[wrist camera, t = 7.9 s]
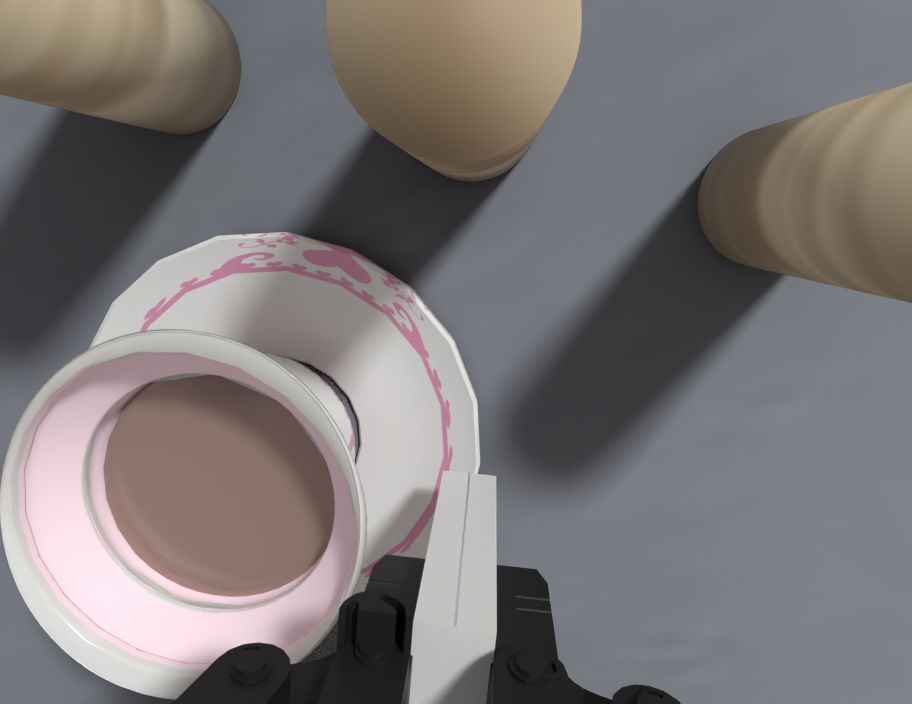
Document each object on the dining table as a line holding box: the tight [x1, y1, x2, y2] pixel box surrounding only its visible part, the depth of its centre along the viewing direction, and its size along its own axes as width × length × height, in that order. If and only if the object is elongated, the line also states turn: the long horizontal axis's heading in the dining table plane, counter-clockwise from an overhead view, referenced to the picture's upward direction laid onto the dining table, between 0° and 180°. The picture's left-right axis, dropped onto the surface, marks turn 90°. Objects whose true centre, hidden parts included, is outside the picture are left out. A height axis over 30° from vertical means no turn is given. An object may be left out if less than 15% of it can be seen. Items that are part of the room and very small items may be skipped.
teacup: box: [0, 232, 480, 700], centre depth 16 cm, size 12×12×6 cm
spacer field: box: [0, 0, 912, 303], centre depth 15 cm, size 20×27×8 cm
